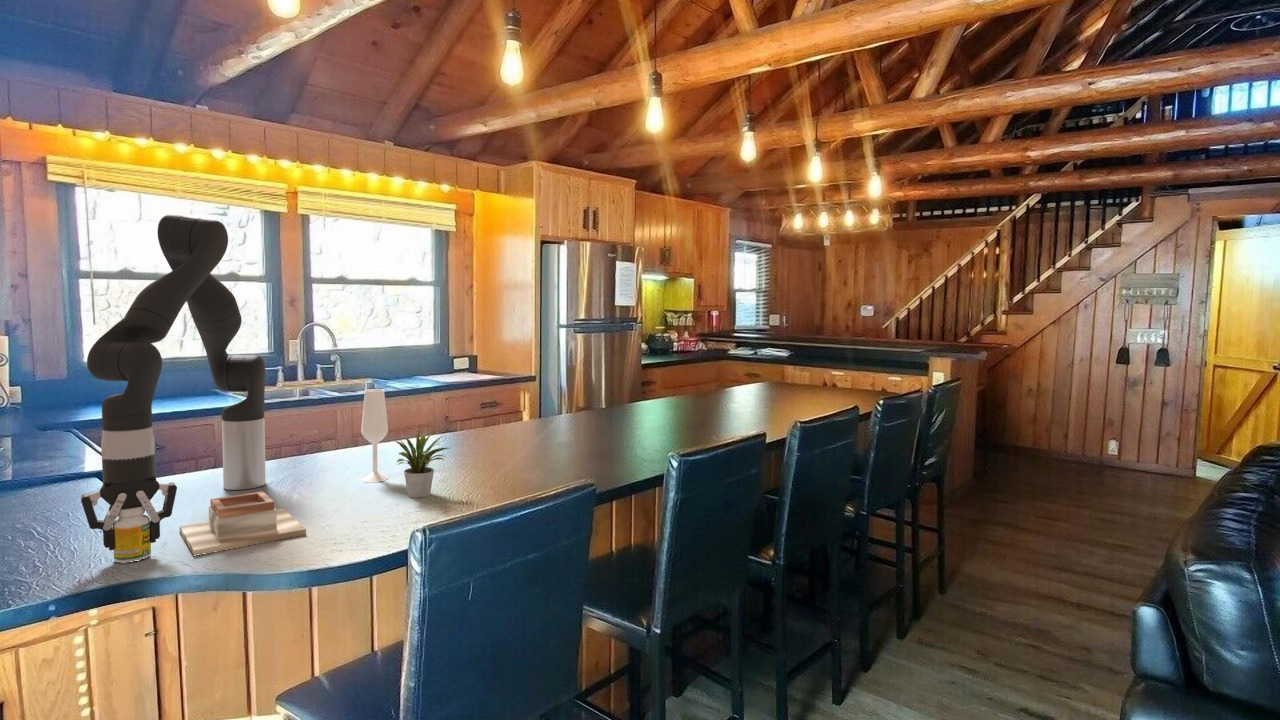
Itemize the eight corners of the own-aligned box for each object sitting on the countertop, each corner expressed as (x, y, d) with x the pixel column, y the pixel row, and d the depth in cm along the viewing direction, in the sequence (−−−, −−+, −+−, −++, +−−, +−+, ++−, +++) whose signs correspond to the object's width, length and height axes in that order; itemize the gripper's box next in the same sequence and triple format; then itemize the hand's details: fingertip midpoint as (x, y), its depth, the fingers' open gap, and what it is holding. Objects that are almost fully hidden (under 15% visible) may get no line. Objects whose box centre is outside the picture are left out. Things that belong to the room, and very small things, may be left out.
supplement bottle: (118, 555, 120) (116, 503, 120) (154, 551, 123) (152, 500, 122) (110, 565, 116) (108, 512, 115) (147, 561, 118) (145, 509, 117)
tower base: (179, 531, 133) (178, 498, 133) (283, 514, 146) (283, 483, 146) (193, 556, 121) (192, 520, 120) (306, 534, 133) (305, 501, 133)
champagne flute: (379, 474, 181) (378, 388, 180) (393, 478, 177) (393, 390, 176) (356, 479, 176) (355, 390, 174) (370, 483, 172) (370, 392, 170)
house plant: (411, 508, 152) (411, 438, 151) (373, 498, 159) (372, 431, 158) (458, 494, 164) (458, 429, 163) (421, 485, 171) (421, 423, 170)
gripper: (174, 444, 125) (177, 531, 127) (75, 454, 116) (79, 548, 117) (180, 451, 120) (183, 542, 121) (76, 462, 110) (81, 561, 111)
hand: (132, 544), depth 119 cm, fingers closed on supplement bottle, 5 cm apart
